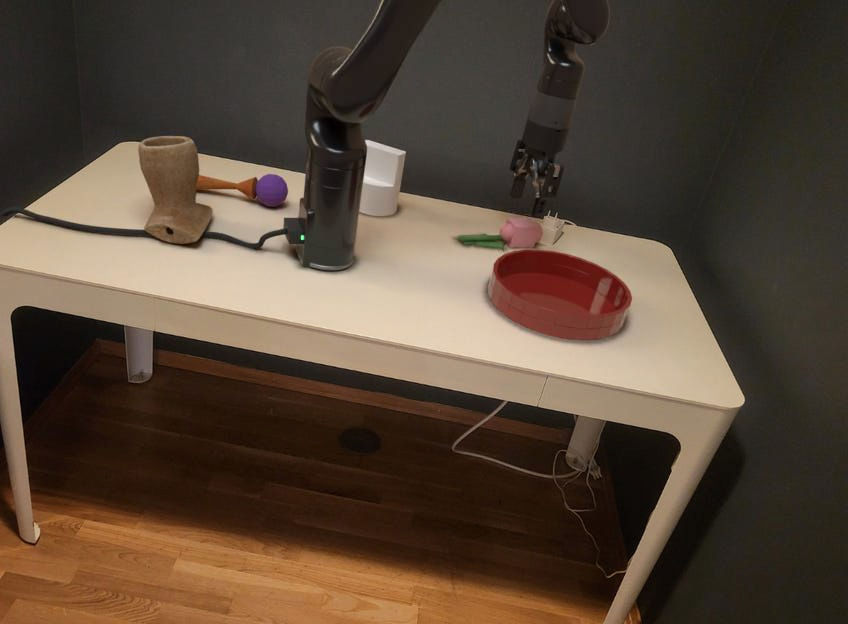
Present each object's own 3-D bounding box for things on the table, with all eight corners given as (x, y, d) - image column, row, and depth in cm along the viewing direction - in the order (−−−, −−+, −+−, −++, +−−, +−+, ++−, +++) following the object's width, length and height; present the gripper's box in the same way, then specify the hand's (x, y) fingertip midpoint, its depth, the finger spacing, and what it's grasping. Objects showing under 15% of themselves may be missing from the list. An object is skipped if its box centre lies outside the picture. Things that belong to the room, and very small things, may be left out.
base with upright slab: (343, 206, 145) (350, 146, 139) (365, 194, 152) (373, 136, 146) (383, 220, 142) (392, 159, 136) (404, 207, 149) (414, 148, 142)
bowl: (523, 344, 111) (530, 319, 108) (467, 273, 128) (472, 249, 126) (649, 339, 117) (659, 314, 115) (580, 271, 135) (587, 249, 132)
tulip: (462, 249, 136) (467, 228, 134) (451, 235, 140) (456, 215, 138) (545, 249, 141) (551, 228, 139) (531, 236, 146) (537, 216, 143)
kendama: (190, 162, 143) (291, 173, 141) (190, 193, 145) (290, 205, 143) (178, 166, 137) (284, 178, 135) (178, 199, 140) (282, 210, 138)
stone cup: (152, 205, 134) (150, 122, 126) (218, 214, 134) (220, 132, 126) (125, 240, 121) (120, 151, 113) (198, 251, 122) (198, 162, 114)
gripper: (512, 105, 133) (491, 191, 142) (549, 131, 122) (523, 222, 131) (549, 108, 136) (526, 192, 144) (588, 134, 124) (560, 223, 133)
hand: (525, 207), depth 138 cm, fingers open, 8 cm apart
